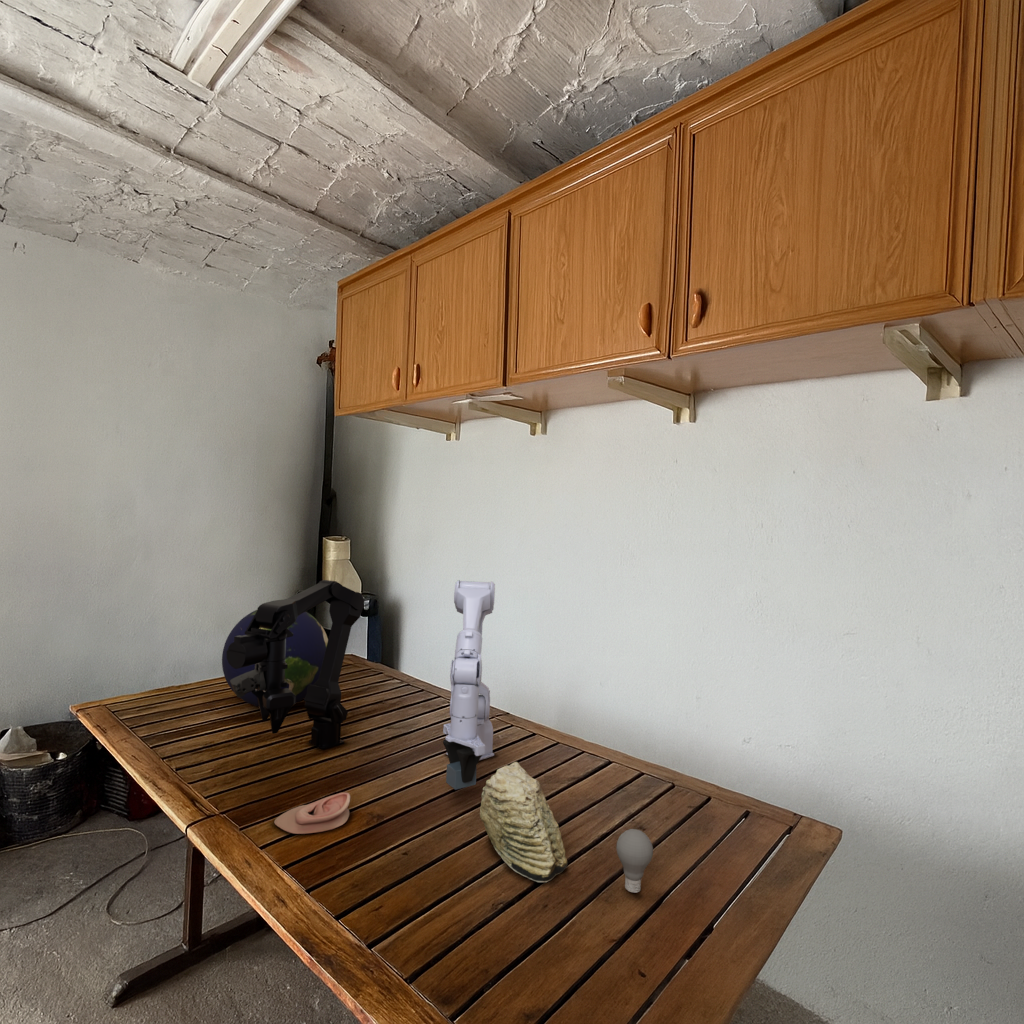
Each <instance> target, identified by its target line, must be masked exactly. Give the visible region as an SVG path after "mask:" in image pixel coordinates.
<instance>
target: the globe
mask: <svg viewBox="0 0 1024 1024" xmlns="http://www.w3.org/2000/svg"><path fill="white" fill-rule="evenodd" d="M257 610H258V608H257V609H255V610H253V611H251V612H250V613H248V614H246V615H245V616H243V618H241V619H240V620H239V621H238V622H237V623H235V625H234V627H232V629H231V631H230V632H229V634H228V635H227V637H226V640H225V642H224V645H223V649H222V654H221V666H222V672H223V676H224V678H225V679H224V680H225V681H226V683H227V685H228V687H229V688H230V689H231V691H232V692H233V693H234V691H233V688H232V685H231V683H230V680H231V679H233V678H235V677H237V676H240V675H242V674H244V673H246V672H249V671H252V670H255V664H253V665H250V666H246V667H242V668H238V669H235V668H233V667H232V666H230V664H229V663H228V660H227V655H226V653H227V650H228V647H229V645H230V644H231V643H233V642H234V637H235V636H239V635H240V636H243V635H246V634H245V631H246V629H247V627H248V626H249V624H250V622H251V621H252V619H253V617H254V615H255V614H256V612H257ZM260 629H265V630H272V629H266V628H261V627H260ZM288 630H289V631H291V632H292V633H293V636H292V637H288V638H286V654H285V663H287V664H288V667H287V669H285V681H286V682H287V687H281V689H284V688H288V689H289V690H290V691H291V692H292V693H293V694H294V695H296V702H295V704H298V703H299V702H301V701H304V699H305V697H306V694H307V688H308V686H309V685H314V683H315V682H316V681H317V680H318V679H319V675H320V671H321V667H322V663H323V659H324V655H325V651H326V647H327V643H328V639H329V637H328V635H327V633H326V631H325V629H324V627H323V626H322V624H321V623H320V621H318V619H317V618H315V616H314V615H312V614H311V613H310V612H308V611H305V612H304V613H302V614H300V615H299V616H298V617H297V619H296V621H295V622H294V623H293V624H292V625H291V626H289V627H288ZM238 698H239V699H240V700H242V701H244V702H245V703H247V704H248V705H251V706H254V707H258V708H259V703H258V699H257V697H256V696H255V695H254V694H253V693H252V692H249V693H247V694H245V695H244V696H242V697H238Z"/></svg>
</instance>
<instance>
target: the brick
mask: <svg viewBox="0 0 1024 1024" xmlns="http://www.w3.org/2000/svg"><path fill="white" fill-rule="evenodd" d="M477 768H478V766H476V769H475V772H474V776H473V779H472V781H470V782H466V783H464V782H462V777H461V764H460V761H459V762H454V763H450V762H449V763H447V764H446V774H445V775H446V776H445V783H446V784H447V785H448V786H450V787H451V788H452V789H453V790H455V791H457V790H460V789H464V788H468V787H472V786H476V785H477V770H478V769H477Z"/></svg>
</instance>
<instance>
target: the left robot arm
mask: <svg viewBox="0 0 1024 1024" xmlns="http://www.w3.org/2000/svg"><path fill="white" fill-rule="evenodd" d="M324 602H326V603H327V604H329V608H328V609H329V610H328V613H329V617H330V619H331V626H330V631H329V635H328V643H327V647H326V651H325V655H324V659H323V663H322V667H321V671H320V675H319V679H318V680H317V681H316V682H315V683H314V685H309V686H308V688H307V694H306V697H305V698H304V699H303V702H304V709H305V711H306V714H307V716H308V717H307V718H308V719H309V720H313V721H312V722H313V723H312V727H311V730H310V731H311V732H310V733H311V735H310V739H309V740H308V743H309V744H310V745H313V746H314V747H316V748H318V749H320V750H327V749H329V748H333V747H336V746H340V745H343V744H344V743H345V741H344V740H343V739H341V737H342V735H341V733H342V724H343V723H344V721H346V720H347V717H348V714H349V711H348V710H347V708H345V706H344V705H343V704H342V694H343V693H342V690H341V686H340V683H339V682H340V676H341V672H342V667H343V664H344V660H345V656H346V651H347V646H348V643H349V638H350V635H351V630H352V627H353V626H354V624H355V623H356V622H357V621H358V620H359V619H360V617H361V614H362V612H363V610H364V607H365V598H364V596H363V595H362V593H361V592H358V591H355V590H353V589H351V588H348V587H346V586H344V585H343V584H341V583H339V582H338V581H335V580H331V579H330V580H329V579H323V580H319V582H318V583H316V584H314V585H312V586H310V587H308V588H306V589H304V590H301V591H300V592H298V593H296V594H294V595H292V596H290V597H287V598H284V599H275V600H270V601H267V602H263V603H261V604H260V605H258V607H257V609H258V610H257V609H256V610H257V612H256V614H255V615H254V617H253V619H252V621H251V622H250V624H249V626H248V627H247V629H246V631H245V634H246V635H243V636H240V635H239V636H235V637H234V642H233V643H231V644H230V645H229V647H228V650H227V653H226V655H227V660H228V663H229V664H230V666H232V667H233V668H235V669H238V668H242V667H246V666H250V665H253V664H255V670H252V671H249V672H246V673H244V674H242V675H240V676H237V677H235V678H233V679H231V680H230V683H231V685H232V688H233V691H234V692H233V691H232V692H233V693H234V695H235V696H236V697H237V698H239V697H242V696H244V695H245V694H247V693H249V692H252V693H253V694H254V695H255V696H256V697H257V699H258V703H259V707H258V708H259V711H260V716H261V721H263V722H264V721H265V722H267V721H268V719H269V722H270V729H271V733H272V734H273V735H276V734H278V733H279V731H280V729H281V726H282V725H283V723H284V721H285V719H286V717H287V715H288V714H289V712H290V710H291V708H293V707H294V706H295V705H296V703H295V702H296V695H294V694H293V693H292V692H291V691H290V690H289V689H288V688H284V689H281V687H287V682H286V681H285V669H287V667H288V664H287V663H285V654H286V638H288V637H292V636H293V633H292V632H291V631H289V630H288V627H289V626H291V625H292V624H293V623H294V622H295V621H296V619H297V617H298V616H299V615H300V614H302V613H304V612H305V611H306V612H308V611H309V610H311V609H313V608H315V607H317V606H318V605H320V604H322V603H324ZM260 627H261V628H266V629H272V630H265V629H260Z"/></svg>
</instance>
